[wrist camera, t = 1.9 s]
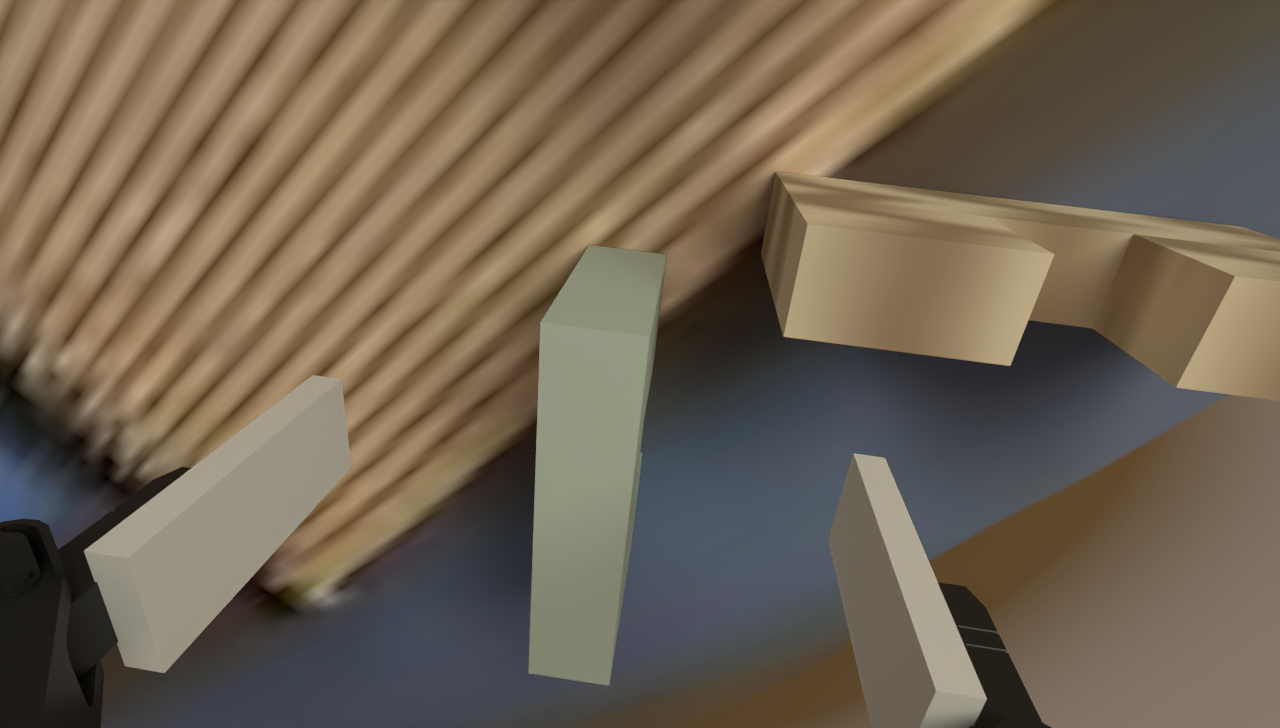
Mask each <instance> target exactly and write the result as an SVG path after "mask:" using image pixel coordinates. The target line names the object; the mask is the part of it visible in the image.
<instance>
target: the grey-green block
mask: <svg viewBox="0 0 1280 728" xmlns="http://www.w3.org/2000/svg"><path fill="white" fill-rule="evenodd" d="M666 257H667V255H666V254H658V253H650V252H642V251H634V250H626V249H618V248H610V247H602V246H594V245H589V246H588V248H587V249H586V251H585V253H584V254H583V256H582V257H581V259H580V260H579V262H578V264H577V265H576V267H575V268H574V270H573V272H572V273H571V275H570V276H569V278H568V279H567V281H566V283H565V284H564V286H563V287H562V289H561V291H560V292H559V294H558V295H557V297H556V298H555V300H554V302H553V303H552V305H551V306H550V308H549V310H548V311H547V313H546V314H545V316H544V317H543V319H542V321H541V322H540V349H539V379H538V408H537V438H536V468H535V497H534V527H533V556H532V586H531V615H530V645H529V673H531V674H537V675H544V676H550V677H557V678H563V679H570V680H576V681H583V682H589V683H596V684H602V685H609V683H610V677H611V671H612V664H613V658H614V652H615V645H616V639H617V632H618V626H619V620H620V613H621V607H622V600H623V594H624V588H625V581H626V575H627V569H628V562H629V556H630V549H631V543H632V536H633V528H634V520H635V512H636V503H637V495H638V487H639V479H640V471H641V462H642V454H643V453H641V452H640V450H641V441H642V433H643V425H644V417H645V411H646V405H647V399H648V394H649V388H650V382H651V377H652V371H653V364H654V356H655V347H656V339H657V331H658V323H659V315H660V306H661V298H662V290H663V282H664V273H665V265H666Z"/></svg>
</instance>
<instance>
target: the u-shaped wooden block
mask: <svg viewBox="0 0 1280 728" xmlns="http://www.w3.org/2000/svg"><path fill="white" fill-rule="evenodd" d="M761 256H762V260H763V264H764V267H765V271H766V275H767V278H768V282H769V286H770V290H771V293H772V297H773V301H774V304H775V308H776V312H777V315H778V319H779V323H780V326H781V330H782V334H783V337H789V338H797V339H805V340H813V341H820V342H828V343H836V344H844V345H851V346H859V347H867V348H875V349H882V350H890V351H898V352H906V353H913V354H921V355H929V356H937V357H944V358H952V359H960V360H968V361H975V362H983V363H991V364H999V365H1006V366H1010V365H1011V363H1012V360H1013V358H1014V355H1015V353H1016V350H1017V348H1018V345H1019V343H1020V340H1021V338H1022V335H1023V333H1024V330H1025V328H1026V325H1027V323H1028V320H1030V321H1038V322H1046V323H1054V324H1062V325H1070V326H1078V327H1086V328H1092V329H1094V330H1095V331H1097V332H1098V333H1099V334H1101V335H1102V336H1104V337H1105V338H1106V339H1108V340H1109V341H1111V342H1112V343H1114V344H1115V345H1116V346H1118V347H1119V348H1121V349H1122V350H1124V351H1125V352H1126V353H1128V354H1129V355H1131V356H1132V357H1133V358H1135V359H1136V360H1138V361H1139V362H1141V363H1142V364H1143V365H1145V366H1146V367H1148V368H1149V369H1151V370H1152V371H1153V372H1155V373H1156V374H1158V375H1159V376H1160V377H1162V378H1163V379H1165V380H1166V381H1168V382H1169V383H1170V384H1172V385H1173V386H1175V387H1177V388H1184V389H1192V390H1200V391H1208V392H1215V393H1223V394H1231V395H1239V396H1246V397H1254V398H1262V399H1270V400H1278V401H1280V239H1277V238H1274V237H1271V236H1268V235H1265V234H1262V233H1258V232H1255V231H1252V230H1249V229H1246V228H1243V227H1239V226H1231V225H1223V224H1214V223H1206V222H1198V221H1189V220H1181V219H1172V218H1164V217H1155V216H1147V215H1138V214H1130V213H1122V212H1113V211H1105V210H1096V209H1088V208H1079V207H1071V206H1062V205H1054V204H1046V203H1037V202H1029V201H1020V200H1012V199H1003V198H995V197H986V196H978V195H969V194H961V193H953V192H944V191H936V190H927V189H919V188H910V187H902V186H893V185H885V184H877V183H868V182H860V181H851V180H843V179H834V178H826V177H817V176H809V175H801V174H792V173H784V172H776V174H775V180H774V185H773V190H772V196H771V201H770V206H769V212H768V217H767V222H766V228H765V233H764V238H763V244H762V249H761Z"/></svg>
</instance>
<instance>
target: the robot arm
mask: <svg viewBox="0 0 1280 728" xmlns="http://www.w3.org/2000/svg"><path fill="white" fill-rule="evenodd" d="M350 469H351V460H350V451H349V442H348V434H347V425H346V416H345V408H344V399H343V390H342V381H341V379H335V378H329V377H322V376H315V375H312V376H311V377H310V378H309V379H307V380H306V381H305V382H303V383H302V384H301V385H299V386H298V387H297V388H295V389H294V390H293V391H292V392H290V393H289V394H288V395H286V396H285V397H284V398H282V399H281V400H280V401H279V402H277V403H276V404H275V405H273V406H272V407H271V408H269V409H268V410H267V411H265V412H264V413H263V414H262V415H260V416H259V417H258V418H256V419H255V420H254V421H252V422H251V423H250V424H249V425H247V426H246V427H245V428H243V429H242V430H241V431H239V432H238V433H237V434H235V435H234V436H233V437H232V438H230V439H229V440H228V441H226V442H225V443H224V444H222V445H221V446H220V447H219V448H217V449H216V450H215V451H213V452H212V453H211V454H209V455H208V456H207V457H205V458H204V459H203V460H202V461H200V462H199V463H198V464H196V465H195V466H194V467H192V468H186V467H181V468H179V469H176V470H174V471H172V472H170V473H167V474H165V475H163V476H161V477H159V478H156V479H154V480H153V481H151V482H150V483H149V484H147V485H146V486H145V487H143V488H142V489H141V490H139V491H138V492H136V493H135V494H134V495H133V497H132V499H130V498H128V499H127V500H126V501H124V502H123V503H122V504H120V505H119V506H117V507H116V508H115V511H114V512H112V511H111V512H109V513H108V514H107V515H105V516H104V517H103V518H101V519H100V520H98V521H97V522H96V523H94V524H93V525H92V526H90V527H89V528H88V529H86V530H85V531H83V532H82V533H81V534H79V535H78V536H77V537H75V538H74V539H73V540H71V541H70V542H69V543H67V544H66V545H64V546H63V547H62V548H60V549H59V550H58V549H57V547H56V544H55V542H54V539H53V536H52V534H51V531H50V528H49V526H48V525H47V524H45V523H43V522H41V521H39V520H31V519H19V520H12V521H4V522H1V523H0V728H100V726H101V711H102V696H103V681H104V672H103V668H102V665H101V662H100V659H101V658H102V657H103V656H104V655H105V654H106V653H107V652H108V651H109V650H110V649H112V648H113V647H114V646H115V645H116V644H117V645H118V648H119V651H120V653H121V656H122V659H123V662H124V665H125V666H127V667H133V668H139V669H144V670H150V671H156V672H161V673H165V672H166V671H167V670H168V669H169V667H170V666H171V665H172V664H173V663H174V662H175V661H176V660H177V659H178V658H179V656H180V655H181V654H182V653H183V652H184V651H185V650H186V649H187V648H188V647H189V646H190V644H191V643H192V642H193V641H194V640H195V639H196V638H197V637H198V636H199V635H200V633H201V632H202V631H203V630H204V629H205V628H206V627H207V626H208V625H209V624H210V622H211V621H212V620H213V619H214V618H215V617H216V616H217V615H218V614H219V613H220V611H221V610H222V609H223V608H224V607H225V606H226V605H227V604H228V603H229V602H230V600H231V599H232V598H233V597H234V596H235V595H236V594H237V593H238V592H239V591H240V589H241V588H242V587H243V586H244V585H245V584H246V583H247V582H248V581H249V580H250V578H251V577H252V576H253V575H254V574H255V573H256V572H257V571H258V570H259V569H260V567H261V566H262V565H263V564H264V563H265V562H266V561H267V560H268V559H269V558H270V556H271V555H272V554H273V553H274V552H275V551H276V550H277V549H278V548H279V547H280V545H281V544H282V543H283V542H284V541H285V540H286V539H287V538H288V537H289V536H290V534H291V533H292V532H293V531H294V530H295V529H296V528H297V527H298V526H299V525H300V523H301V522H302V521H303V520H304V519H305V518H306V517H307V516H308V515H309V514H310V513H311V511H312V510H313V509H314V508H315V507H316V506H317V505H318V504H319V503H320V502H321V500H322V499H323V498H324V497H325V496H326V495H327V494H328V493H329V492H330V491H331V489H332V488H333V487H334V486H335V485H336V484H337V483H338V482H339V481H340V480H341V478H342V477H343V476H344V475H345V474H346V473H347V472H348V471H349V470H350ZM828 542H829V546H830V551H831V555H832V559H833V564H834V568H835V572H836V577H837V581H838V585H839V590H840V594H841V598H842V603H843V607H844V611H845V616H846V620H847V624H848V629H849V633H850V637H851V642H852V646H853V650H854V655H855V659H856V663H857V668H858V672H859V676H860V681H861V685H862V689H863V694H864V698H865V702H866V707H867V710H868V715H869V720H870V723H871V728H1051V727H1049V726H1047V725H1045V724H1044V723H1042V722H1041V719H1040V717H1039V715H1038V713H1037V711H1036V709H1035V707H1034V705H1033V703H1032V701H1031V699H1030V697H1029V695H1028V693H1027V691H1026V689H1025V687H1024V685H1023V683H1022V681H1021V678H1020V676H1019V674H1018V672H1017V670H1016V668H1015V666H1014V664H1013V662H1012V660H1011V658H1010V656H1009V654H1008V653H1006V651H1005V649H1006V648H1005V646H1004V644H1003V642H1002V640H1001V638H1000V636H999V635H998V634H997V633H996V631H997V630H996V628H995V626H994V624H993V622H992V620H991V618H990V615H989V614H988V611H987V609H986V608H985V607H984V605H983V604H982V603H981V602H980V601H979V600H978V599H977V598H976V597H975V596H974V595H973V594H972V593H971V592H970V591H969V590H968V589H967V588H966V587H965V586H958V585H951V584H944V583H938V582H937V580H936V578H935V575H934V573H933V570H932V568H931V566H930V563H929V561H928V559H927V556H926V554H925V551H924V549H923V547H922V544H921V542H920V540H919V537H918V535H917V533H916V530H915V528H914V525H913V523H912V521H911V518H910V516H909V514H908V511H907V509H906V507H905V504H904V502H903V500H902V497H901V495H900V492H899V490H898V488H897V485H896V483H895V481H894V478H893V476H892V474H891V471H890V469H889V466H888V464H887V462H886V459H885V458H882V457H875V456H868V455H861V454H854V453H853V457H852V460H851V464H850V467H849V470H848V474H847V477H846V481H845V484H844V487H843V491H842V494H841V498H840V501H839V505H838V508H837V511H836V515H835V518H834V522H833V525H832V528H831V532H830V535H829V539H828Z"/></svg>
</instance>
